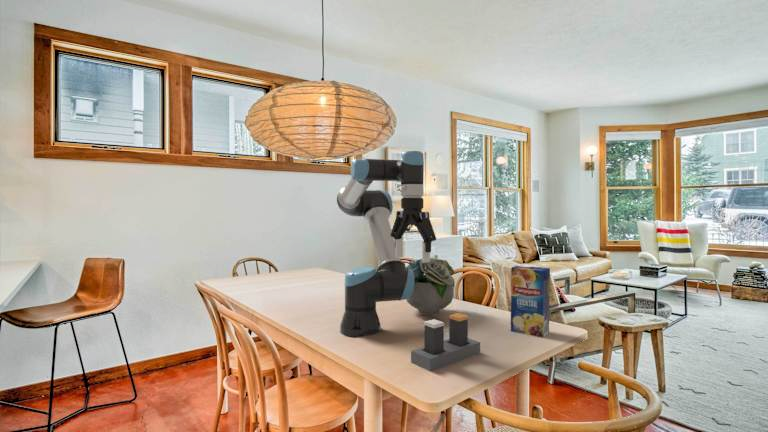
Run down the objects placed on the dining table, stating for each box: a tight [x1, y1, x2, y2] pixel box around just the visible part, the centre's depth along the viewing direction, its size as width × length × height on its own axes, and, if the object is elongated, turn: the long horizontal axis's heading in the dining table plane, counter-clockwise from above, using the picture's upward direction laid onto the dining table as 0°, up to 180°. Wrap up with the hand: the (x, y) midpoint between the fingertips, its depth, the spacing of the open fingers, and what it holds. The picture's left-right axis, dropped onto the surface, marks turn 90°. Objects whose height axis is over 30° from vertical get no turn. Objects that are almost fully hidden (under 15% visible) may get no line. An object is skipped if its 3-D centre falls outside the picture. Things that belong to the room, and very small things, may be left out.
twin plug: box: [423, 318, 445, 355], centre depth 120 cm, size 4×4×12 cm
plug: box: [448, 312, 469, 347], centre depth 127 cm, size 4×4×12 cm
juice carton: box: [510, 264, 551, 338], centre depth 151 cm, size 12×8×24 cm, turn 53°
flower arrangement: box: [405, 257, 456, 316], centre depth 176 cm, size 25×25×24 cm
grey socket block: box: [410, 337, 481, 372], centre depth 124 cm, size 8×22×4 cm, turn 128°
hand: (412, 259), depth 138 cm, fingers open, 13 cm apart
